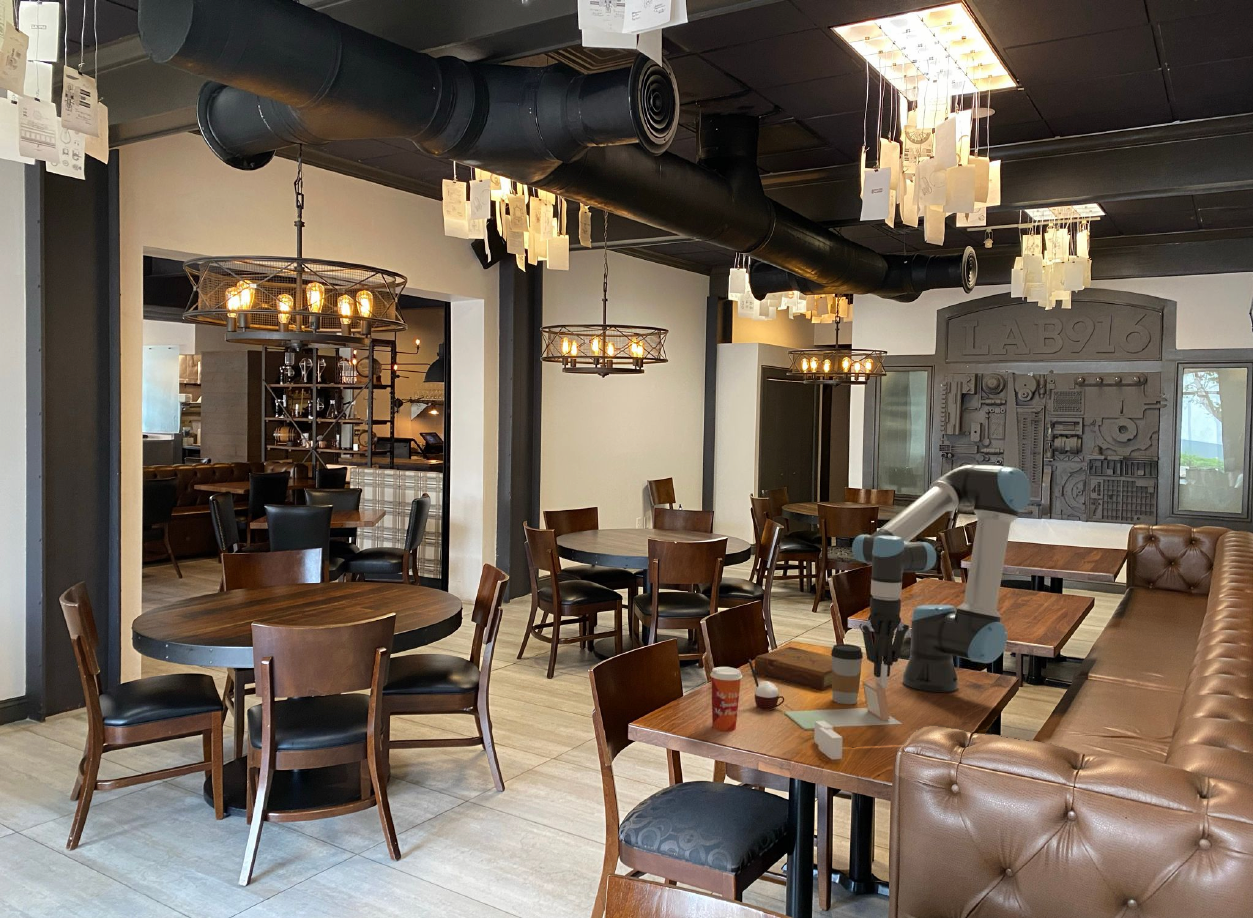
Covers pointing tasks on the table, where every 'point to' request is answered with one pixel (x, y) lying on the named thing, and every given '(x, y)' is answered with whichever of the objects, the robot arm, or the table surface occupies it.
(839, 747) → the white stepped block
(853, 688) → the coffee cup
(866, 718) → the mat
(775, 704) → the cocoa
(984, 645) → the robot arm
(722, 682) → the paper cup
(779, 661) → the diary
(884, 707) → the tile
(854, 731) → the table surface
